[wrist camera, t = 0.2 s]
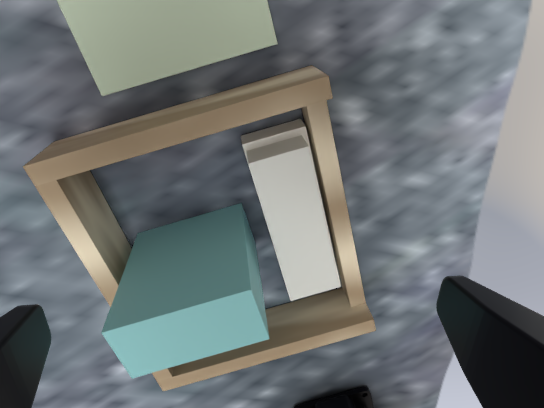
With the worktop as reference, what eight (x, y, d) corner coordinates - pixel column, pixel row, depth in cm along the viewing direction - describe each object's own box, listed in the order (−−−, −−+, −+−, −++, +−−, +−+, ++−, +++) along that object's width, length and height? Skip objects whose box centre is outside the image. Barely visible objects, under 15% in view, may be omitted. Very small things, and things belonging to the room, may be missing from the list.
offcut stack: (333, 269, 26) (349, 305, 23) (286, 283, 27) (295, 320, 23) (299, 117, 21) (313, 136, 18) (240, 134, 21) (244, 156, 18)
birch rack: (358, 294, 27) (375, 330, 24) (169, 348, 28) (163, 391, 24) (311, 65, 20) (328, 75, 17) (53, 142, 20) (22, 166, 17)
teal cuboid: (255, 242, 24) (269, 339, 17) (157, 271, 25) (131, 378, 17) (241, 202, 23) (250, 289, 16) (137, 233, 23) (101, 332, 16)
